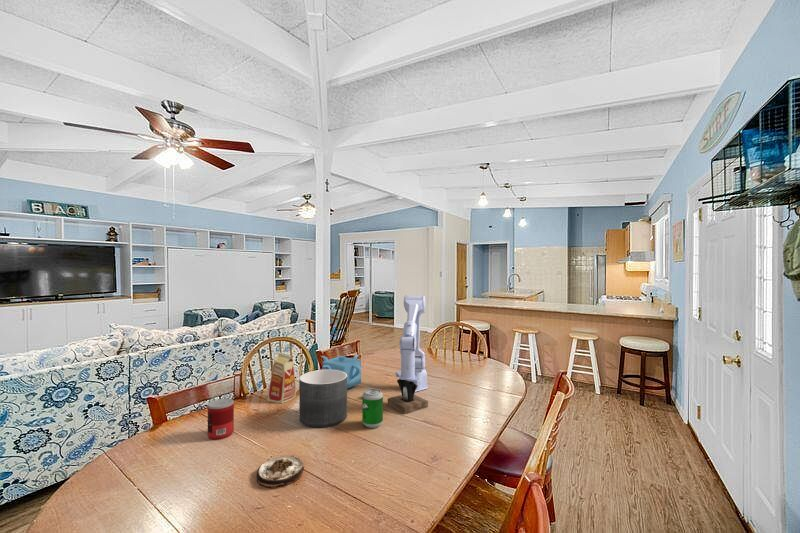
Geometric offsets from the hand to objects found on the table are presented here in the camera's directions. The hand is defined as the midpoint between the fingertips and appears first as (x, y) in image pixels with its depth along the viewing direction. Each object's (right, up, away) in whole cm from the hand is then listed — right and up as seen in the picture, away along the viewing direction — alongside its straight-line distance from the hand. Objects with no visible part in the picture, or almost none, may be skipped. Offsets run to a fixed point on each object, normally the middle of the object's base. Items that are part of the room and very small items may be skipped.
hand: (407, 397), depth 146 cm
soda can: (-13, -3, -17) cm, 22 cm away
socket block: (0, -3, 0) cm, 3 cm away
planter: (-32, -3, -12) cm, 35 cm away
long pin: (0, -2, 0) cm, 2 cm away
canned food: (-64, -3, -26) cm, 69 cm away
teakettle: (-32, -3, +22) cm, 39 cm away
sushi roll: (-36, -4, -49) cm, 61 cm away
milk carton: (-54, -3, +7) cm, 55 cm away
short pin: (-16, -3, +8) cm, 18 cm away
